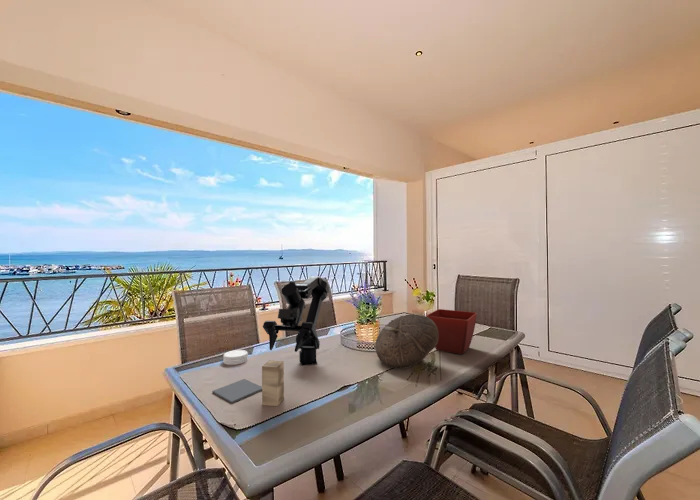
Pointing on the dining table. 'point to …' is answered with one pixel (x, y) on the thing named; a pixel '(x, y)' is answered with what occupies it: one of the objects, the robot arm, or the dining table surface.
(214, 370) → the dining table surface
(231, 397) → the charcoal mat
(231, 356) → the white short cylinder
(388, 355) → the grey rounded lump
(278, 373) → the beech block
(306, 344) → the robot arm
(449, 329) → the plant pot
